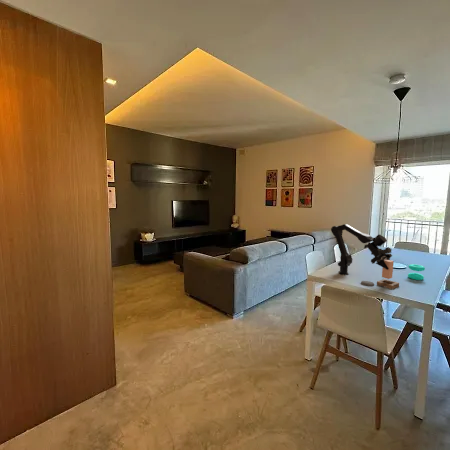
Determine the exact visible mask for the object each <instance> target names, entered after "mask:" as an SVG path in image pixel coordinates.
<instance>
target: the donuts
mask: <svg viewBox="0 0 450 450" xmlns="http://www.w3.org/2000/svg"><path fill="white" fill-rule="evenodd" d="M408 268H409V270H410V271H415V272H409V273H408V274H407V277H408V278H409V279H412V280H416V281H422V280H425V276H424V274H421V273H418V272H424V271H425V270H426V267H425V266H423V265H422V264H416V263H414V264H413V263H412V264H409V265H408Z"/></svg>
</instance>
